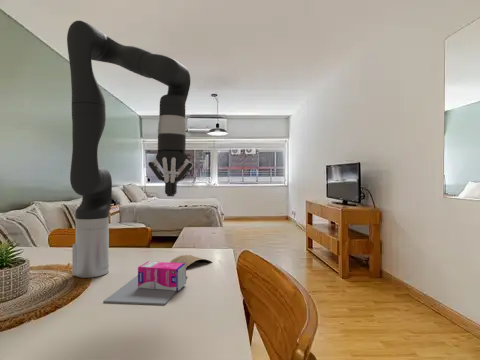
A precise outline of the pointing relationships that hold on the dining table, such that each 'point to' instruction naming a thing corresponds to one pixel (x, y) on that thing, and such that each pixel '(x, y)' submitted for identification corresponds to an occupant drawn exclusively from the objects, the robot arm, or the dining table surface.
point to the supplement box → (162, 275)
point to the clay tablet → (186, 259)
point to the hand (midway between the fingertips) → (170, 196)
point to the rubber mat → (139, 295)
